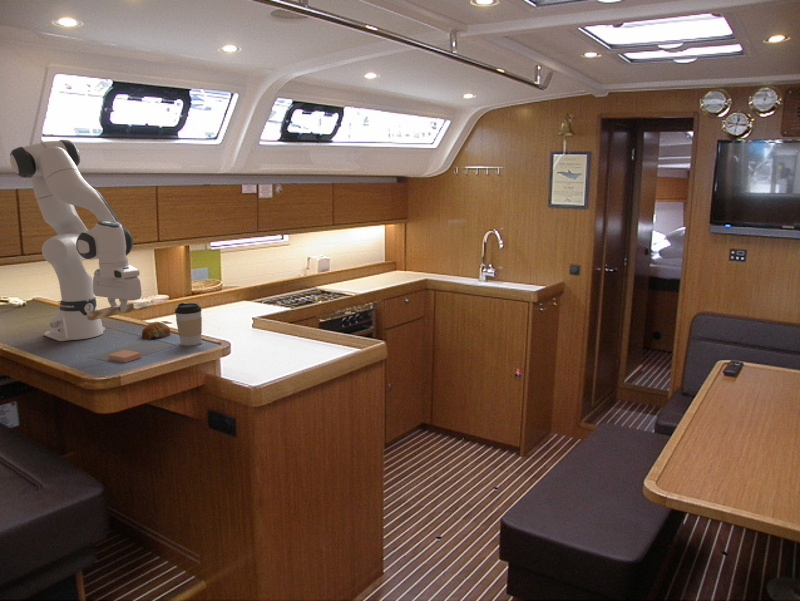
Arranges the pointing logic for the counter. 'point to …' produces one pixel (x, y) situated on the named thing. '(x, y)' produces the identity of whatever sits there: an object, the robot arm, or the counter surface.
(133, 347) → the mat
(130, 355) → the tile
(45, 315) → the counter surface
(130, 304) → the spatula
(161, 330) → the bread roll
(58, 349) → the counter surface
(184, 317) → the coffee cup
